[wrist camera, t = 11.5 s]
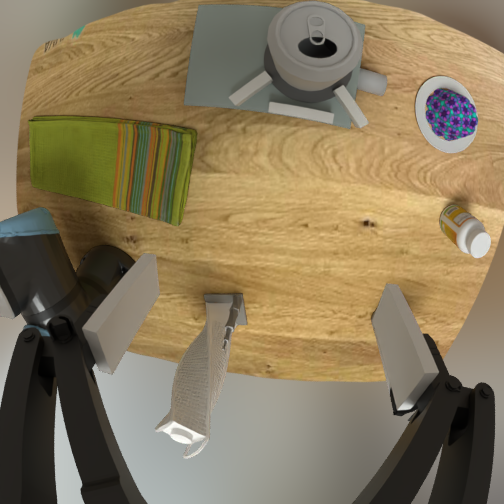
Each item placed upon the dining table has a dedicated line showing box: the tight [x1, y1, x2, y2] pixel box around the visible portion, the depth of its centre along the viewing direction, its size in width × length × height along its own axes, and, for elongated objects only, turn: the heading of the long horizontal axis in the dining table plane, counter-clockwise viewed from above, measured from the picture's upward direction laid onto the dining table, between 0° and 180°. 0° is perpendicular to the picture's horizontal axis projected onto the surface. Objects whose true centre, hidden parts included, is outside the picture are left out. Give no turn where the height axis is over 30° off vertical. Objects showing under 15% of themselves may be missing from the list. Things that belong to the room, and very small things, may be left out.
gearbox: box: [184, 5, 387, 129], centre depth 28 cm, size 24×14×8 cm, turn 83°
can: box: [267, 1, 363, 91], centre depth 21 cm, size 8×8×12 cm
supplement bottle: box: [440, 205, 491, 258], centre depth 34 cm, size 5×5×10 cm
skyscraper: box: [155, 294, 247, 459], centre depth 40 cm, size 8×8×28 cm
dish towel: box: [28, 116, 197, 226], centre depth 41 cm, size 15×36×3 cm, turn 77°
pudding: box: [415, 76, 478, 153], centre depth 29 cm, size 12×12×5 cm
